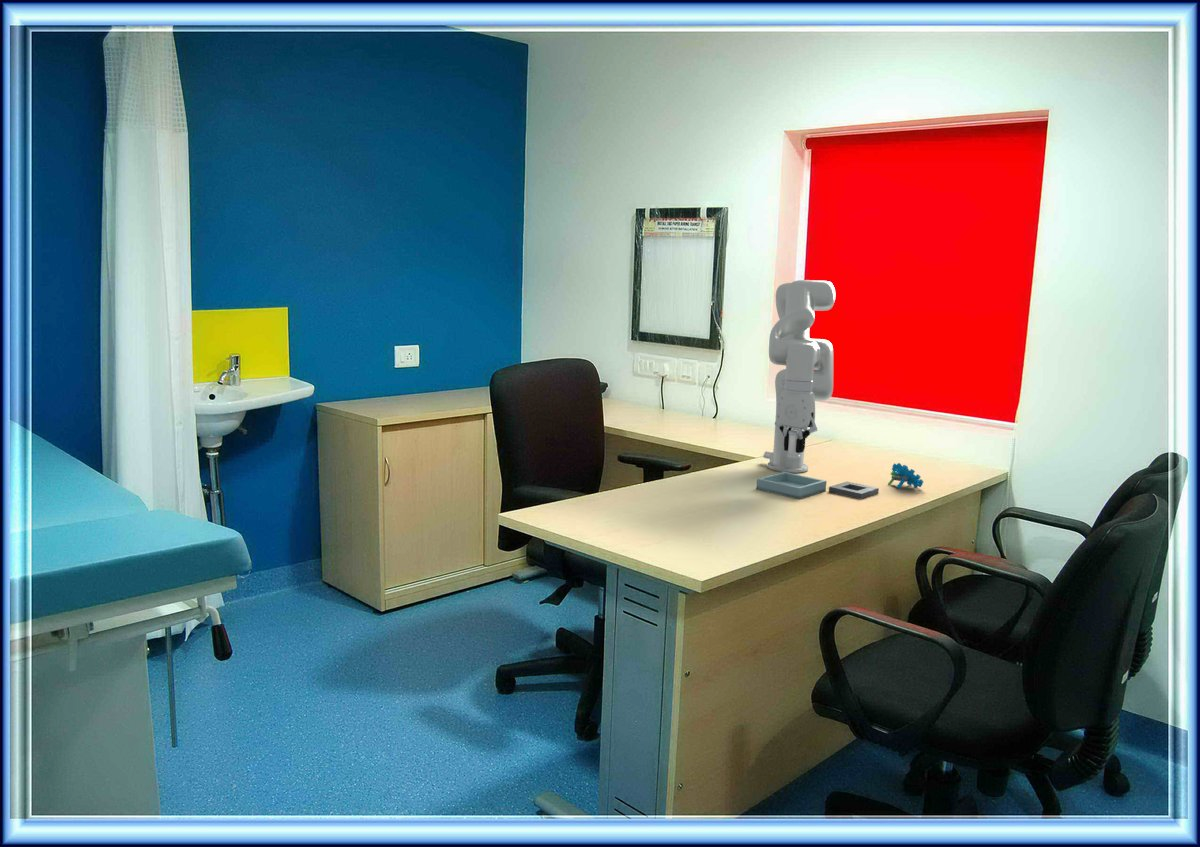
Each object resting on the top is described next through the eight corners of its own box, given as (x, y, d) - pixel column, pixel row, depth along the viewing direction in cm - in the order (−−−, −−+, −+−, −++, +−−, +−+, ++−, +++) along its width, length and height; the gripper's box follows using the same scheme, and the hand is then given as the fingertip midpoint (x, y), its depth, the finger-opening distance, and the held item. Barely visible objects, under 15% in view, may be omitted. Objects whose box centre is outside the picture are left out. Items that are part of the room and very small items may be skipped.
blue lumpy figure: (931, 485, 259) (911, 462, 256) (919, 501, 257) (899, 478, 254) (905, 482, 269) (885, 459, 266) (893, 496, 268) (874, 474, 265)
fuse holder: (828, 491, 254) (829, 486, 254) (846, 486, 261) (847, 481, 261) (860, 498, 247) (861, 493, 247) (878, 493, 254) (878, 488, 254)
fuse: (784, 457, 253) (786, 431, 252) (791, 455, 255) (793, 429, 254) (795, 459, 250) (797, 433, 249) (802, 457, 253) (804, 431, 252)
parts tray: (756, 489, 255) (757, 478, 254) (783, 481, 265) (784, 471, 264) (798, 499, 245) (799, 488, 245) (825, 491, 255) (826, 480, 254)
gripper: (766, 384, 253) (761, 448, 256) (817, 390, 241) (812, 457, 244) (780, 382, 258) (776, 445, 261) (831, 389, 247) (826, 454, 250)
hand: (793, 450), depth 252 cm, fingers closed on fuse, 3 cm apart
